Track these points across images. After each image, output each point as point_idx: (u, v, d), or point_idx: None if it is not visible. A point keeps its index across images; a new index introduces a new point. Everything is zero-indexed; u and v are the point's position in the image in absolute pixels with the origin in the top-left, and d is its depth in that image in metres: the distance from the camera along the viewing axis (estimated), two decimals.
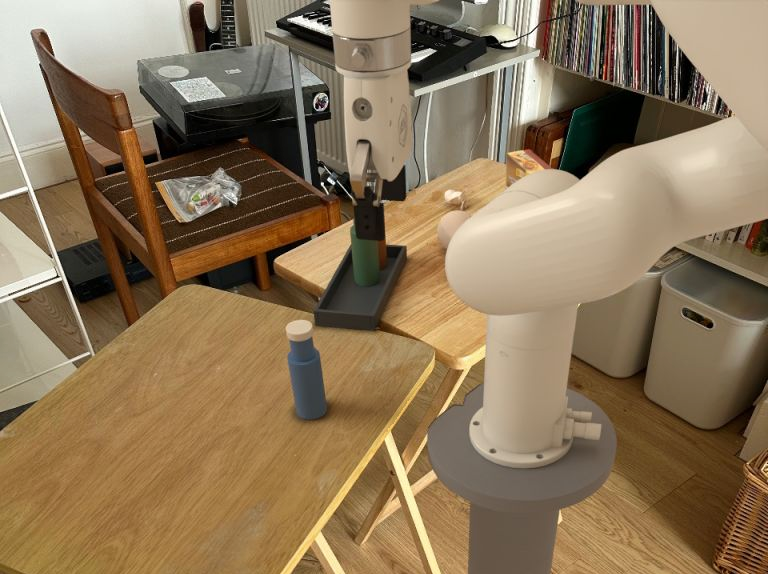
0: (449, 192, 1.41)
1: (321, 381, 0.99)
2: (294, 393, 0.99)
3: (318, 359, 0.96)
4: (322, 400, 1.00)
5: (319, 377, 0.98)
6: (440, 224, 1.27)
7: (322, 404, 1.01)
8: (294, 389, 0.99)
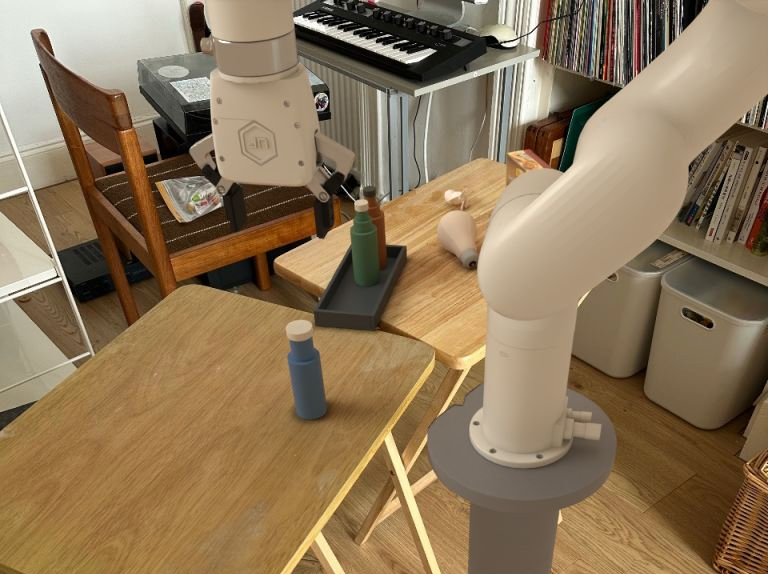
0: (449, 192, 1.41)
1: (321, 381, 0.99)
2: (294, 393, 0.99)
3: (318, 359, 0.96)
4: (322, 400, 1.00)
5: (319, 377, 0.98)
6: (440, 224, 1.27)
7: (322, 404, 1.01)
8: (294, 389, 0.99)
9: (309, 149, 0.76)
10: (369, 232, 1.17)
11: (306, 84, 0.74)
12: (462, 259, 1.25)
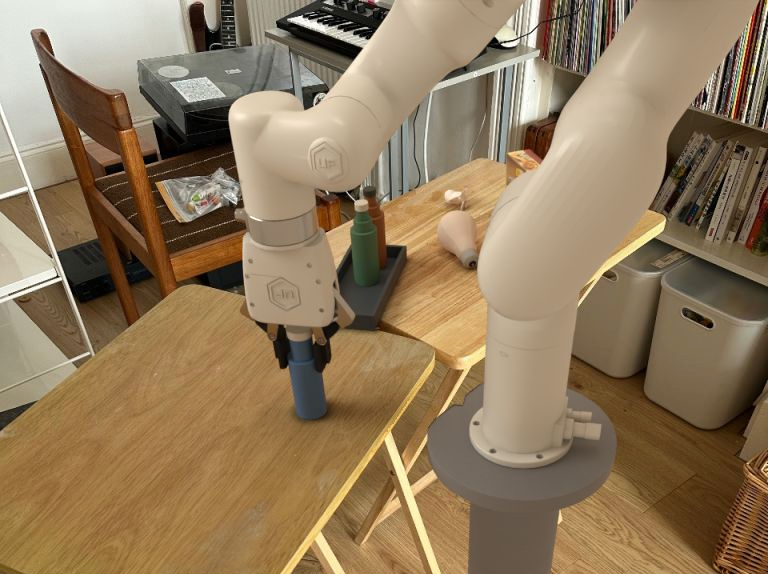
0: (449, 192, 1.41)
1: (321, 381, 0.99)
2: (294, 393, 0.99)
3: None
4: (322, 400, 1.00)
5: (319, 377, 0.98)
6: (440, 224, 1.27)
7: (322, 404, 1.01)
8: (294, 389, 0.99)
9: (329, 298, 0.88)
10: (369, 232, 1.17)
11: (326, 246, 0.85)
12: (462, 259, 1.25)
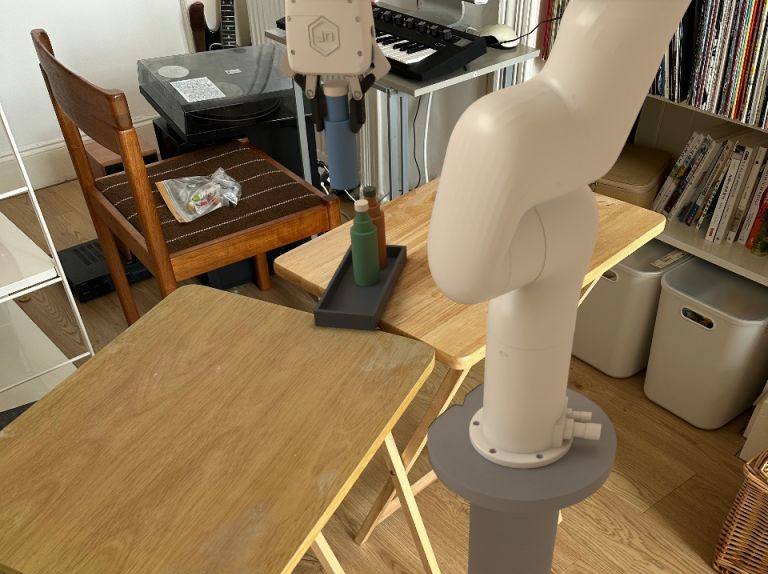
0: None
1: (355, 147, 1.03)
2: (329, 160, 1.04)
3: None
4: (355, 168, 1.04)
5: (353, 141, 1.02)
6: None
7: (355, 174, 1.05)
8: (329, 155, 1.03)
9: (367, 40, 0.92)
10: (369, 232, 1.17)
11: None
12: None
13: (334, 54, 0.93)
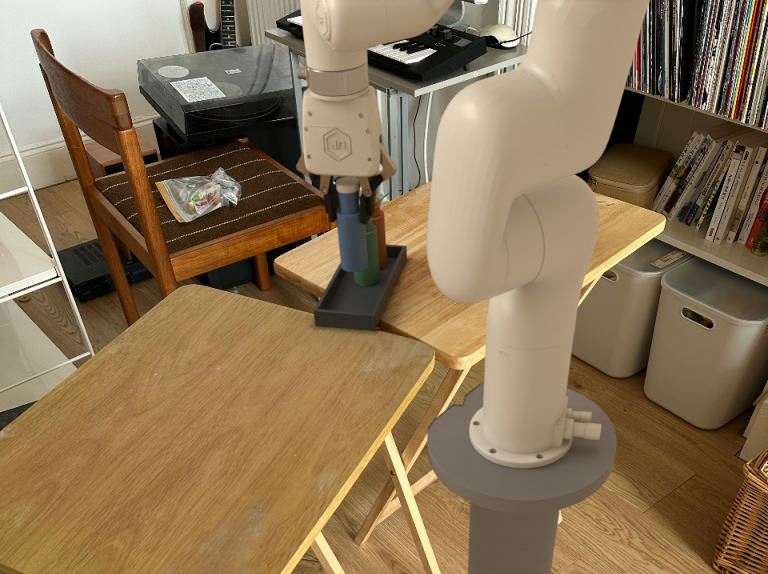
0: None
1: (364, 235, 1.13)
2: (340, 246, 1.14)
3: None
4: (364, 253, 1.14)
5: (363, 230, 1.12)
6: None
7: (365, 258, 1.15)
8: (341, 242, 1.13)
9: (376, 148, 1.02)
10: (369, 232, 1.17)
11: (375, 100, 1.00)
12: None
13: (346, 159, 1.03)
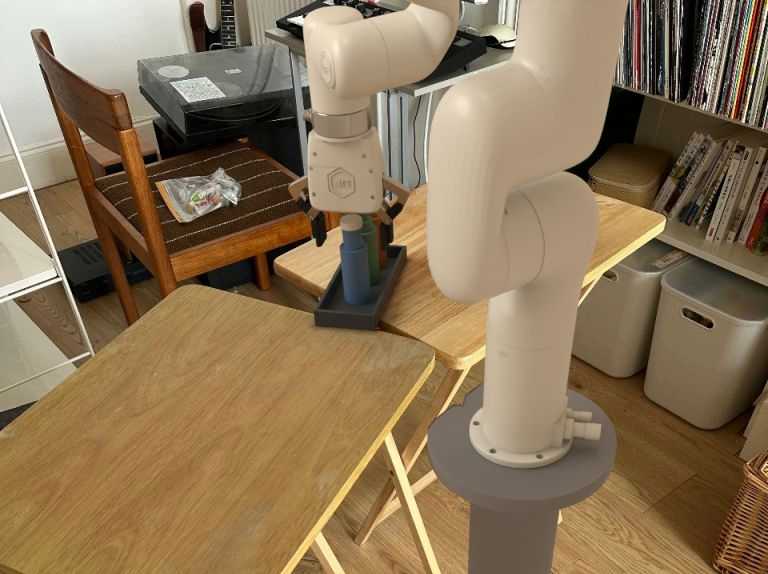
0: None
1: (367, 269, 1.17)
2: (344, 280, 1.17)
3: (366, 249, 1.14)
4: (367, 287, 1.18)
5: (366, 265, 1.16)
6: None
7: (367, 291, 1.19)
8: (344, 276, 1.17)
9: (379, 187, 1.05)
10: (369, 232, 1.17)
11: (378, 141, 1.03)
12: None
13: (350, 197, 1.06)
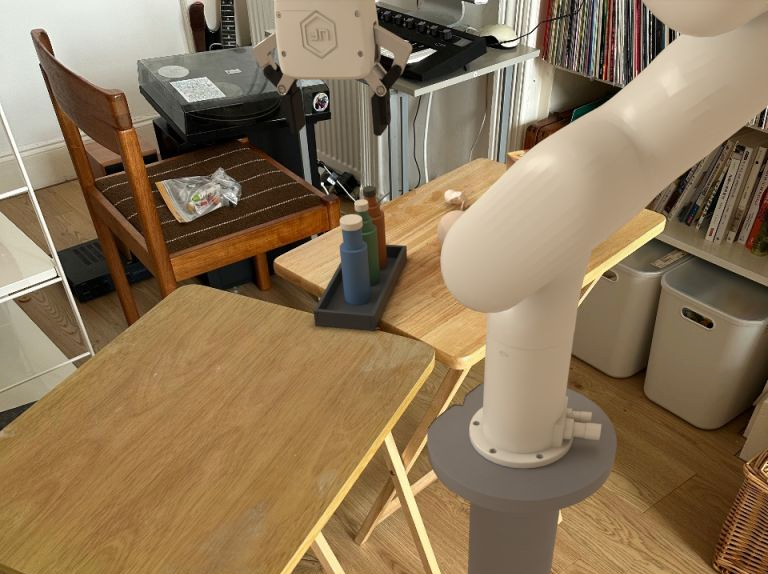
0: (449, 192, 1.41)
1: (367, 269, 1.17)
2: (344, 280, 1.17)
3: (366, 249, 1.14)
4: (367, 287, 1.18)
5: (366, 265, 1.16)
6: (440, 224, 1.27)
7: (367, 291, 1.19)
8: (344, 276, 1.17)
9: (369, 38, 0.79)
10: (369, 232, 1.17)
11: None
12: None
13: (331, 55, 0.80)
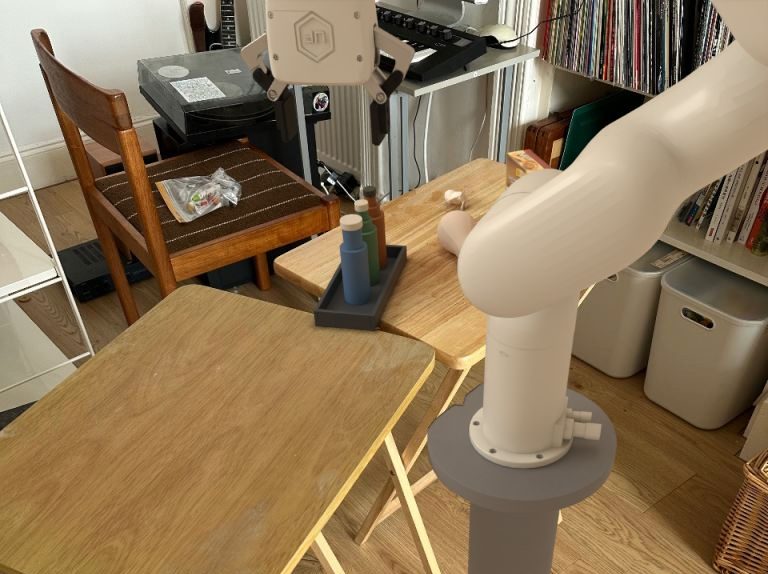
0: (449, 192, 1.41)
1: (367, 269, 1.17)
2: (344, 280, 1.17)
3: (366, 249, 1.14)
4: (367, 287, 1.18)
5: (366, 265, 1.16)
6: (440, 224, 1.27)
7: (367, 291, 1.19)
8: (344, 276, 1.17)
9: (369, 42, 0.73)
10: (369, 232, 1.17)
11: None
12: None
13: (327, 59, 0.74)
